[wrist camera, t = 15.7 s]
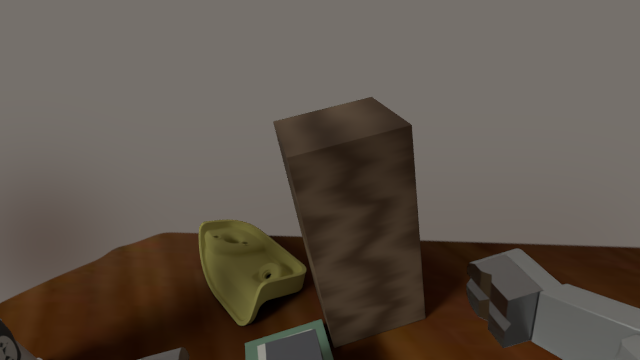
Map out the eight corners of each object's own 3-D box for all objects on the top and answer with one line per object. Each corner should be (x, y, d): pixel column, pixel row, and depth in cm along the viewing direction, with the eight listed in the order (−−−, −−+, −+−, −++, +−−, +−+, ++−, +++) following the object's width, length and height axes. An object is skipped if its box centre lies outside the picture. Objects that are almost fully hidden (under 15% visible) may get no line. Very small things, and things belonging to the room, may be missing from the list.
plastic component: (313, 272, 55) (254, 286, 49) (302, 315, 57) (245, 334, 51) (245, 217, 69) (192, 222, 62) (239, 253, 71) (187, 262, 64)
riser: (334, 348, 46) (286, 157, 34) (315, 286, 56) (273, 121, 43) (425, 318, 47) (411, 124, 35) (391, 263, 57) (371, 96, 45)
